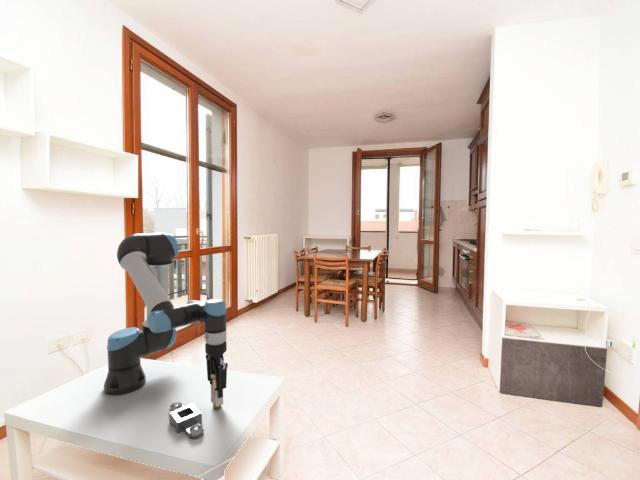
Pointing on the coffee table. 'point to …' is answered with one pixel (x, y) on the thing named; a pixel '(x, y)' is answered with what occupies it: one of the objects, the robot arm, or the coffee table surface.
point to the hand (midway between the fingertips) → (217, 402)
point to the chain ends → (186, 419)
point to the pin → (214, 391)
